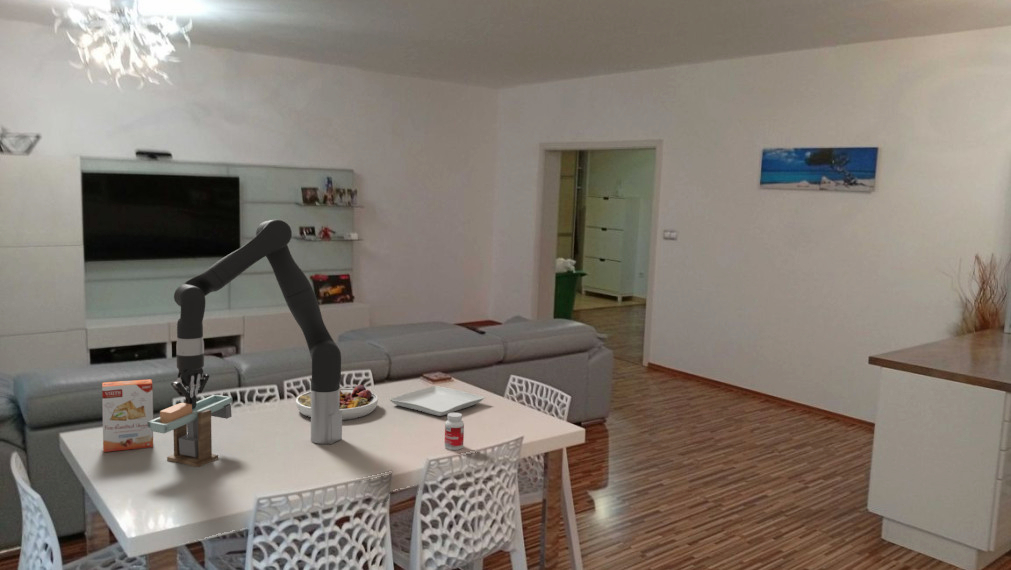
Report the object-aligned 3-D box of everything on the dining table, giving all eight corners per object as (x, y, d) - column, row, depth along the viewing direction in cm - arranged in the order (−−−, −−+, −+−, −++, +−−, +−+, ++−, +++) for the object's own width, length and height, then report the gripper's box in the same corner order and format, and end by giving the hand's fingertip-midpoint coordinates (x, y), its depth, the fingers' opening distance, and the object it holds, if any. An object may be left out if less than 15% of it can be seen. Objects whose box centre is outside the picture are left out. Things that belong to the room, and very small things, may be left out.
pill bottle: (441, 448, 239) (441, 415, 237) (449, 443, 244) (450, 410, 243) (458, 451, 236) (459, 418, 235) (466, 446, 242) (467, 413, 241)
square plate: (434, 393, 307) (434, 384, 307) (486, 405, 291) (486, 396, 291) (388, 406, 285) (388, 397, 285) (441, 421, 269) (441, 410, 269)
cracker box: (103, 453, 224) (101, 386, 222) (103, 447, 230) (101, 381, 227) (154, 447, 231) (152, 382, 228) (153, 441, 236) (151, 378, 234)
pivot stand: (218, 458, 223) (217, 408, 222) (198, 466, 216) (197, 415, 214) (187, 452, 228) (187, 403, 226) (167, 460, 220) (166, 409, 219)
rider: (192, 417, 218) (191, 404, 217) (171, 426, 211) (170, 413, 210) (182, 415, 219) (181, 402, 219) (160, 424, 212) (159, 411, 211)
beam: (234, 438, 233) (232, 397, 231) (169, 470, 209) (166, 425, 207) (217, 435, 236) (214, 394, 233) (151, 466, 212) (147, 421, 209)
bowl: (337, 428, 257) (337, 406, 256) (278, 413, 272) (278, 392, 271) (394, 409, 282) (394, 389, 281) (337, 396, 298) (337, 377, 297)
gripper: (182, 357, 210) (183, 416, 213) (216, 349, 223) (217, 405, 225) (162, 354, 213) (163, 412, 215) (197, 346, 225) (198, 401, 227)
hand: (191, 408), depth 220 cm, fingers closed
